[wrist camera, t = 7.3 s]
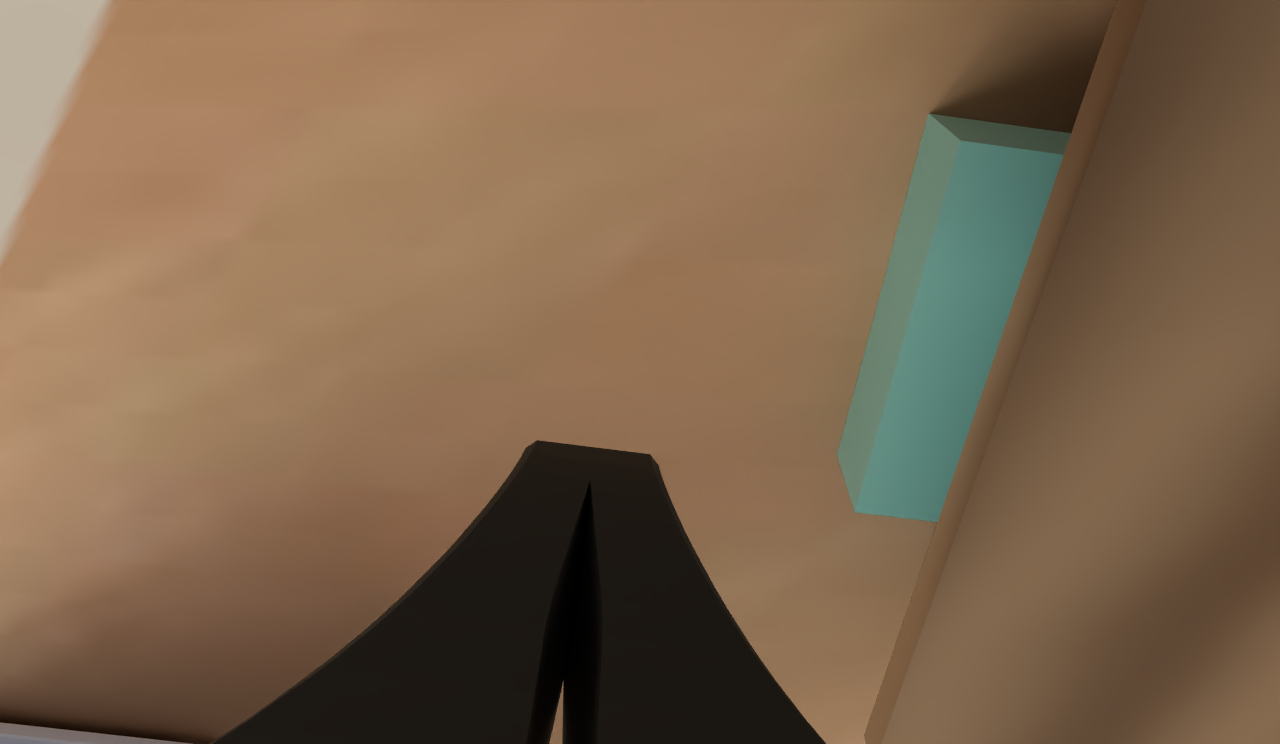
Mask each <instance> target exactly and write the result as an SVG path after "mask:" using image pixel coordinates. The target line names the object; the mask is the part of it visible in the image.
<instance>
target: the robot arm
mask: <svg viewBox="0 0 1280 744" xmlns="http://www.w3.org/2000/svg"><path fill="white" fill-rule="evenodd" d="M563 680H564V689H563V743H562V744H826V743H825V742H824V741H823V740H822V738H821V737H820V736H819V735H818V734H817V732H816V731H815V730H814V729H813V728H812V726H811V725H810V724H809V723H808V722H807V720H806V719H805V718H804V717H803V716H802V714H801V713H800V712H799V710H798V709H797V708H796V706H795V705H794V704H793V703H792V701H791V700H790V699H789V697H788V696H787V695H786V694H785V692H784V691H783V690H782V688H781V687H780V686H779V684H778V683H777V682H776V680H775V679H774V678H773V676H772V675H771V674H770V672H769V671H768V669H767V668H766V667H765V665H764V664H763V662H762V661H761V659H760V658H759V657H758V655H757V654H756V652H755V651H754V649H753V648H752V646H751V645H750V643H749V642H748V640H747V639H746V637H745V636H744V634H743V632H742V631H741V629H740V628H739V626H738V625H737V623H736V622H735V620H734V618H733V617H732V615H731V614H730V612H729V611H728V609H727V607H726V606H725V604H724V602H723V601H722V599H721V597H720V595H719V594H718V592H717V590H716V589H715V587H714V585H713V583H712V582H711V580H710V578H709V576H708V574H707V572H706V570H705V569H704V567H703V565H702V563H701V561H700V559H699V558H698V556H697V554H696V552H695V550H694V548H693V546H692V544H691V542H690V540H689V538H688V536H687V534H686V532H685V530H684V528H683V526H682V524H681V522H680V520H679V517H678V515H677V513H676V511H675V509H674V506H673V504H672V502H671V499H670V497H669V494H668V492H667V489H666V487H665V484H664V481H663V478H662V476H661V473H660V469H659V466H658V464H657V463H656V461H655V460H654V459H653V458H652V456H651V455H650V454H643V453H635V452H627V451H619V450H610V449H602V448H594V447H586V446H578V445H570V444H562V443H554V442H546V441H538V440H537V441H536V442H534V443H533V444H531V445H530V446H528V447H527V448H526V449H525V450H524V452H523V454H522V456H521V458H520V460H519V461H518V463H517V464H516V466H515V467H514V469H513V471H512V472H511V473H510V475H509V476H508V478H507V479H506V481H505V482H504V483H503V485H502V486H501V487H500V489H499V490H498V491H497V493H496V494H495V495H494V496H493V498H492V499H491V500H490V502H489V503H488V504H487V506H486V507H485V508H484V509H483V510H482V511H481V513H480V514H479V515H478V516H477V517H476V518H475V520H474V521H473V522H472V523H471V524H470V525H469V527H468V528H467V529H466V530H465V531H464V533H463V534H462V535H461V536H460V537H459V538H458V540H457V541H456V542H455V543H454V544H453V545H452V546H451V547H450V548H449V550H448V551H447V552H446V553H445V554H444V555H443V556H442V557H441V558H440V559H439V560H438V561H437V562H436V563H435V564H434V565H433V566H432V567H431V568H430V569H429V570H428V571H427V572H426V573H425V574H424V575H423V576H422V577H421V578H420V579H419V580H418V581H417V582H416V583H415V584H414V585H413V586H412V587H411V588H410V589H409V590H408V591H407V592H406V593H405V594H404V595H403V596H402V597H401V598H400V599H399V600H398V601H397V602H396V603H395V604H394V605H392V606H391V607H390V608H389V609H388V610H387V611H386V612H385V613H384V614H383V615H381V616H380V617H379V618H378V619H377V620H376V621H375V622H374V623H372V624H371V625H370V626H369V627H368V628H367V629H366V630H364V631H363V632H362V633H361V634H360V635H358V636H357V637H356V638H355V639H354V640H352V641H351V642H350V643H349V644H348V645H346V646H345V647H344V648H343V649H341V650H340V651H339V652H338V653H337V654H335V655H334V656H333V657H332V658H330V659H329V660H328V661H327V662H325V663H324V664H323V665H321V666H320V667H319V668H317V669H316V670H315V671H313V672H312V673H311V674H309V675H308V676H307V677H305V678H304V679H303V680H301V681H300V682H299V683H297V684H296V685H294V686H293V687H292V688H290V689H289V690H288V691H286V692H285V693H284V694H282V695H281V696H280V697H278V698H277V699H276V700H274V701H273V702H272V703H270V704H269V705H267V706H266V707H264V708H263V709H262V710H260V711H259V712H257V713H256V714H254V715H253V716H251V717H250V718H248V719H247V720H246V721H244V722H243V723H241V724H240V725H238V726H237V727H235V728H234V729H232V730H231V731H229V732H228V733H226V734H224V735H223V736H221V737H220V738H218V739H216V740H215V741H213V742H211V743H210V744H549V742H550V738H551V733H552V729H553V724H554V720H555V715H556V711H557V707H558V702H559V698H560V693H561V689H562V684H563ZM0 744H192V743H183V742H174V741H165V740H156V739H146V738H137V737H128V736H119V735H110V734H101V733H92V732H83V731H74V730H65V729H56V728H47V727H38V726H28V725H19V724H10V723H1V722H0Z"/></svg>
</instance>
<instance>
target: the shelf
mask: <svg viewBox="0 0 1280 744" xmlns="http://www.w3.org/2000/svg"><path fill="white" fill-rule="evenodd" d="M864 736H865V740H866V744H1280V0H1117V2H1116V5H1115V8H1114V11H1113V13H1112V16H1111V19H1110V22H1109V25H1108V28H1107V31H1106V34H1105V37H1104V40H1103V42H1102V45H1101V48H1100V51H1099V54H1098V57H1097V60H1096V63H1095V66H1094V69H1093V72H1092V74H1091V77H1090V80H1089V83H1088V86H1087V89H1086V92H1085V95H1084V98H1083V101H1082V104H1081V106H1080V109H1079V112H1078V115H1077V118H1076V121H1075V124H1074V127H1073V130H1072V133H1071V136H1070V138H1069V141H1068V144H1067V147H1066V150H1065V153H1064V156H1063V159H1062V162H1061V165H1060V168H1059V170H1058V173H1057V176H1056V179H1055V182H1054V185H1053V188H1052V191H1051V194H1050V197H1049V200H1048V202H1047V205H1046V208H1045V211H1044V214H1043V217H1042V220H1041V223H1040V226H1039V229H1038V232H1037V234H1036V237H1035V240H1034V243H1033V246H1032V249H1031V252H1030V255H1029V258H1028V261H1027V264H1026V266H1025V269H1024V272H1023V275H1022V278H1021V281H1020V284H1019V287H1018V290H1017V293H1016V296H1015V298H1014V301H1013V304H1012V307H1011V310H1010V313H1009V316H1008V319H1007V322H1006V325H1005V328H1004V330H1003V333H1002V336H1001V339H1000V342H999V345H998V348H997V351H996V354H995V357H994V360H993V362H992V365H991V368H990V371H989V374H988V377H987V380H986V383H985V386H984V389H983V391H982V394H981V397H980V400H979V403H978V406H977V409H976V412H975V415H974V418H973V421H972V423H971V426H970V429H969V432H968V435H967V438H966V441H965V444H964V447H963V450H962V453H961V455H960V458H959V461H958V464H957V467H956V470H955V473H954V476H953V479H952V482H951V485H950V487H949V490H948V493H947V496H946V499H945V502H944V505H943V508H942V511H941V514H940V517H939V519H938V522H937V525H936V528H935V531H934V534H933V537H932V540H931V543H930V546H929V549H928V551H927V554H926V557H925V560H924V563H923V566H922V569H921V572H920V575H919V578H918V581H917V583H916V586H915V589H914V592H913V595H912V598H911V601H910V604H909V607H908V610H907V613H906V615H905V618H904V621H903V624H902V627H901V630H900V633H899V636H898V639H897V642H896V645H895V647H894V650H893V653H892V656H891V659H890V662H889V665H888V668H887V671H886V674H885V677H884V679H883V682H882V685H881V688H880V691H879V694H878V697H877V700H876V703H875V706H874V709H873V711H872V714H871V717H870V720H869V723H868V726H867V729H866V732H865V735H864Z"/></svg>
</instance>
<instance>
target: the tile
mask: <svg viewBox="0 0 1280 744" xmlns="http://www.w3.org/2000/svg"><path fill="white" fill-rule="evenodd" d="M1070 136H1071V133H1066V132H1059V131H1051V130H1044V129H1037V128H1030V127H1023V126H1015V125H1008V124H1001V123H994V122H987V121H980V120H972V119H965V118H958V117H951V116H944V115H936V114H928V117H927V121H926V125H925V129H924V132H923V136H922V140H921V144H920V147H919V151H918V155H917V158H916V162H915V166H914V170H913V173H912V177H911V181H910V185H909V188H908V192H907V196H906V199H905V203H904V207H903V211H902V214H901V218H900V222H899V226H898V229H897V233H896V237H895V241H894V244H893V248H892V252H891V255H890V259H889V263H888V267H887V270H886V274H885V278H884V282H883V285H882V289H881V293H880V296H879V300H878V304H877V308H876V311H875V315H874V319H873V323H872V326H871V330H870V334H869V338H868V341H867V345H866V349H865V352H864V356H863V360H862V364H861V367H860V371H859V375H858V379H857V382H856V386H855V390H854V394H853V397H852V401H851V405H850V408H849V412H848V416H847V420H846V423H845V427H844V431H843V435H842V438H841V442H840V446H839V449H838V453H837V457H838V461H839V464H840V467H841V470H842V474H843V477H844V480H845V483H846V486H847V490H848V493H849V496H850V499H851V503H852V506H853V509H854V512H857V513H866V514H874V515H882V516H891V517H899V518H907V519H916V520H924V521H932V522H938V519H939V517H940V514H941V511H942V508H943V505H944V502H945V499H946V496H947V493H948V490H949V487H950V485H951V482H952V479H953V476H954V473H955V470H956V467H957V464H958V461H959V458H960V455H961V453H962V450H963V447H964V444H965V441H966V438H967V435H968V432H969V429H970V426H971V423H972V421H973V418H974V415H975V412H976V409H977V406H978V403H979V400H980V397H981V394H982V391H983V389H984V386H985V383H986V380H987V377H988V374H989V371H990V368H991V365H992V362H993V360H994V357H995V354H996V351H997V348H998V345H999V342H1000V339H1001V336H1002V333H1003V330H1004V328H1005V325H1006V322H1007V319H1008V316H1009V313H1010V310H1011V307H1012V304H1013V301H1014V298H1015V296H1016V293H1017V290H1018V287H1019V284H1020V281H1021V278H1022V275H1023V272H1024V269H1025V266H1026V264H1027V261H1028V258H1029V255H1030V252H1031V249H1032V246H1033V243H1034V240H1035V237H1036V234H1037V232H1038V229H1039V226H1040V223H1041V220H1042V217H1043V214H1044V211H1045V208H1046V205H1047V202H1048V200H1049V197H1050V194H1051V191H1052V188H1053V185H1054V182H1055V179H1056V176H1057V173H1058V170H1059V168H1060V165H1061V162H1062V159H1063V156H1064V153H1065V150H1066V147H1067V144H1068V141H1069V138H1070Z"/></svg>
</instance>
